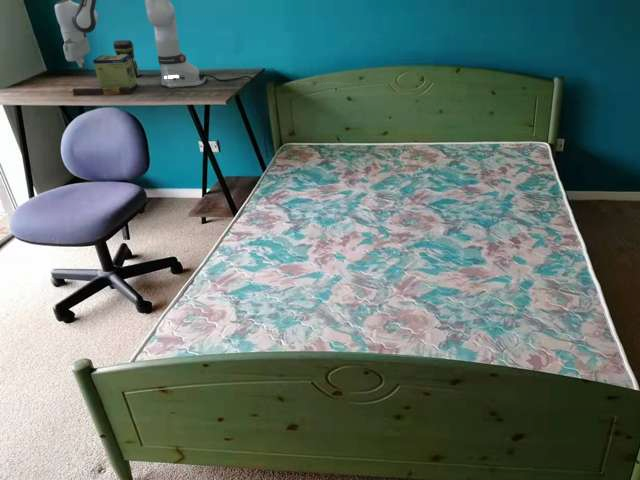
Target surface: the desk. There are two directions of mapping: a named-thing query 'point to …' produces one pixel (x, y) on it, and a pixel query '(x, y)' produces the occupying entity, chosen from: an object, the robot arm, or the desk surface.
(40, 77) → the desk surface
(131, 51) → the coffee jar
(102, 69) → the protein box
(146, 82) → the desk surface
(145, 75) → the desk surface
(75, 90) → the guide rail
